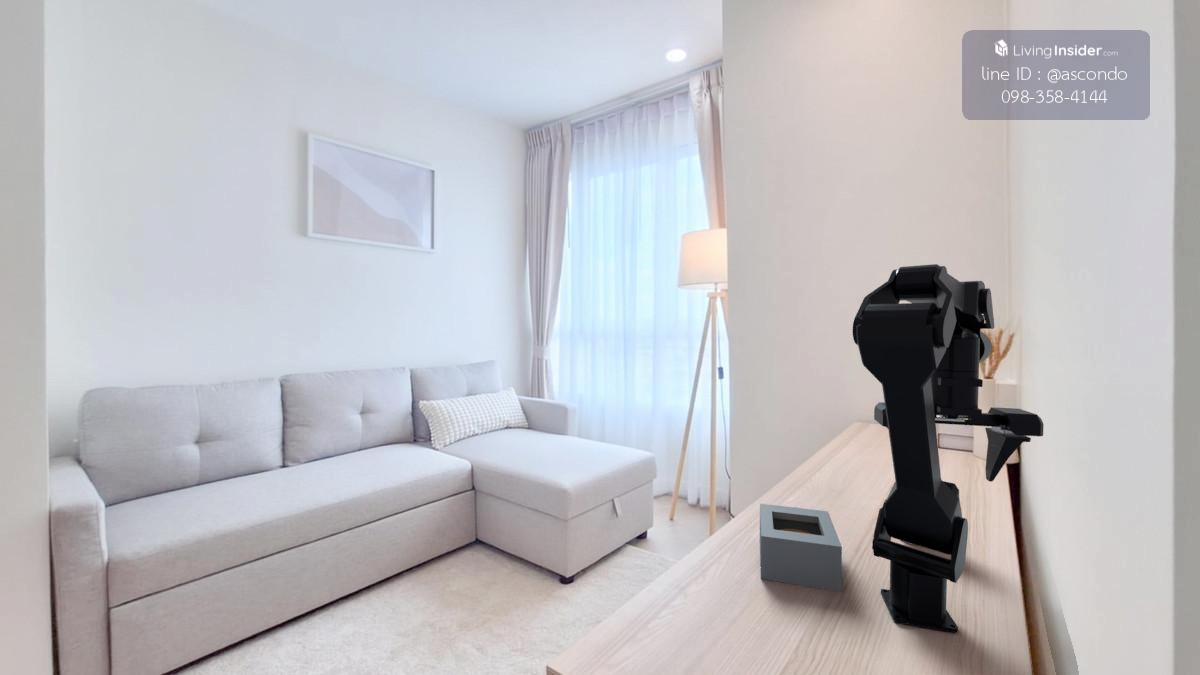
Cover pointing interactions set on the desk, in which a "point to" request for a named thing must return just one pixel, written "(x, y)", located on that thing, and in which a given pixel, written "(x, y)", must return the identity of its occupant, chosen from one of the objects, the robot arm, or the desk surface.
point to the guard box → (799, 547)
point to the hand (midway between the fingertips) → (950, 477)
